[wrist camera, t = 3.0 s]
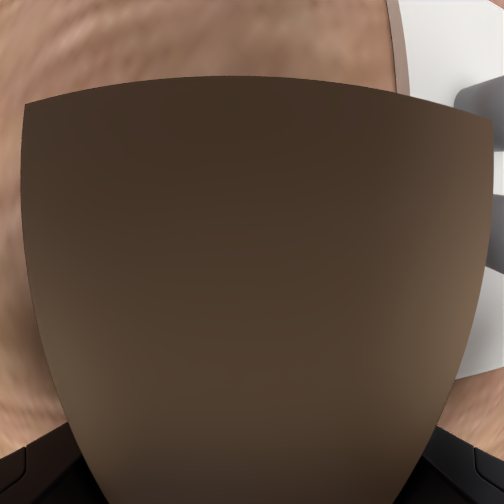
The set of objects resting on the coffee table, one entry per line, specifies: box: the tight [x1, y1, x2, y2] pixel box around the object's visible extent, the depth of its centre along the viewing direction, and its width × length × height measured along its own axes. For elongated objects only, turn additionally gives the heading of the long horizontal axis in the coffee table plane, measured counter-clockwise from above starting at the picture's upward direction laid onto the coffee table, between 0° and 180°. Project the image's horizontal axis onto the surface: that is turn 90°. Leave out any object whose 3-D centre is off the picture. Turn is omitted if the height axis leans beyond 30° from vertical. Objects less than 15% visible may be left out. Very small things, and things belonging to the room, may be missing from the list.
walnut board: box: [21, 76, 494, 504], centre depth 6 cm, size 12×5×4 cm, turn 179°
